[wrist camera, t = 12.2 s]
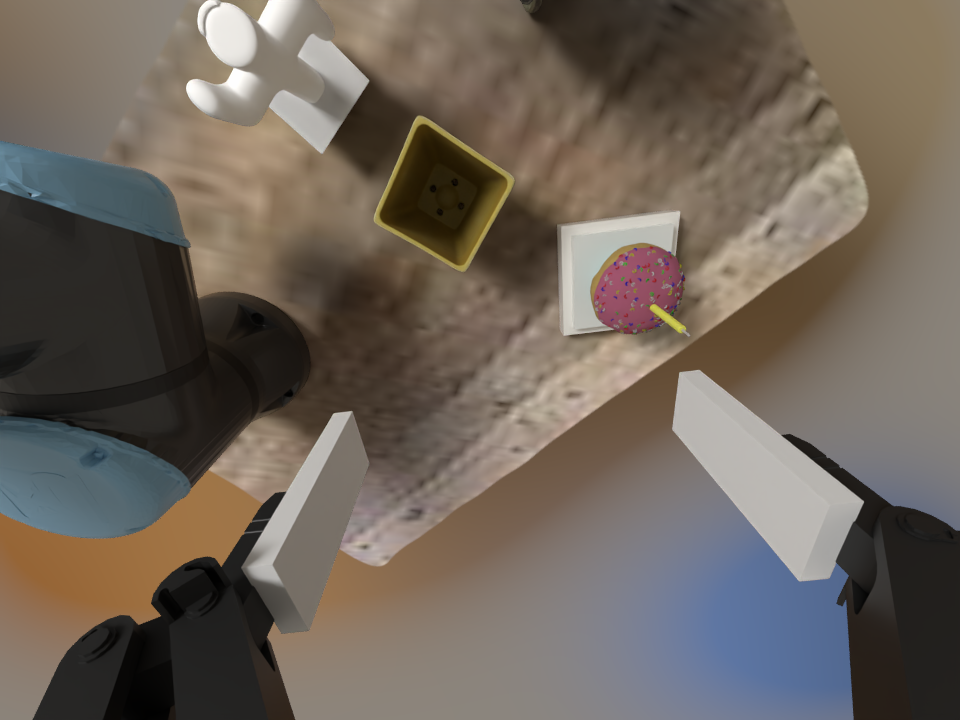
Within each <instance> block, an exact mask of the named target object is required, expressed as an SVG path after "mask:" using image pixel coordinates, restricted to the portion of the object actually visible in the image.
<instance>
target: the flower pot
mask: <svg viewBox="0 0 960 720" xmlns="http://www.w3.org/2000/svg"><path fill="white" fill-rule="evenodd" d="M454 179H456V180H457V181H458V183H457V185H453V184H452V180H454ZM514 184H515V179H514V177H513V176H512V175H511V174H509V173H508V172H506V171H505V170H503V169H502V168H500V167H499V166H497V165H495V164H494V163H492V162H491V161H489V160H488V159H486V158H485V157H483V156H482V155H480V154H479V153H477V152H476V151H474V150H473V149H472V148H470V147H469V146H467V145H465V144H464V143H463V142H461V141H460V140H458V139H457V138H455V137H454V136H452V135H451V134H449V133H448V132H446V131H445V130H444V129H442V128H441V127H440V126H438V125H437V124H435V123H434V122H432V121H431V120H429V119H427V118H426V117H424V116H417V118H416V119H415V121H414V123H413V125H412V127H411V130H410V132H409V134H408V137H407V139H406V142H405V144H404V147H403V149H402V151H401V154H400V156H399V159H398V161H397V163H396V166H395V168H394V171H393V173H392V175H391V177H390V180H389V182H388V184H387V187H386V189H385V191H384V193H383V196H382V198H381V200H380V202H379V205H378V207H377V209H376V212H375V215H374V222H375V223H376V224H377V225H379V226H380V227H382V228H384V229H386V230H387V231H389V232H391V233H393V234H395V235H397V236H399V237H401V238H402V239H404V240H406V241H408V242H410V243H412V244H413V245H415V246H417V247H419V248H420V249H422V250H424V251H426V252H427V253H429V254H431V255H432V256H434V257H436V258H437V259H439V260H441V261H442V262H444V263H446V264H447V265H449V266H451V267H452V268H454V269H456V270H458V271H460V272H465V271H466V270H467V269H468V267H469V265H470V264H471V262H472V260H473V258H474V256H475V254H476V252H477V251H478V249H479V247H480V245H481V243H482V241H483V240H484V238H485V236H486V234H487V232H488V231H489V229H490V227H491V225H492V224H493V222H494V220H495V218H496V216H497V215H498V213H499V211H500V209H501V208H502V206H503V204H504V202H505V200H506V199H507V197H508V195H509V194H510V192H511V190H512V188H513V186H514ZM431 186H435V187H436V191H434V192H432V191H431V189H430V188H431ZM459 203H463V205H464V207H463V208H462V209H460V208H459V207H458V205H459ZM438 209H441V210H442V211H443V213H442V214H441V215H439V214H438V213H437V211H438Z"/></svg>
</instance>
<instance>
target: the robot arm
mask: <svg viewBox="0 0 960 720" xmlns="http://www.w3.org/2000/svg"><path fill="white" fill-rule="evenodd" d="M190 247H191V246H190V242H189V241H188V240H187V239H186V238H185V235H184V232H183V228H182V224H181V220H180V216H179V212H178V208H177V204H176V201H175V198H174V196H173V194H172V192H171V191H170V189H169V188H168V187H167V186H166V185H165V184H164V183H163V182H162V181H161V180H159V179H158V178H157V177H155V176H154V175H152V174H150V173H148V172H145V171H143V170H139V169H135V168H131V167H126V166H121V165H116V164H111V163H106V162H102V161H97V160H92V159H87V158H82V157H77V156H72V155H68V154H63V153H58V152H52V151H48V150H43V149H37V148H33V147H28V146H23V145H19V144H14V143H9V142H4V141H0V513H2V514H4V515H6V516H8V517H10V518H12V519H14V520H17V521H19V522H22V523H25V524H27V525H30V526H32V527H35V528H38V529H41V530H45V531H48V532H52V533H57V534H61V535H67V536H72V537H80V538H115V537H121V536H125V535H129V534H133V533H136V532H138V531H141V530H143V529H145V528H146V527H148V526H150V525H152V524H153V523H154V522H156V521H157V520H158V519H159V518H160V517H161V516H162V515H164V514H165V513H166V512H167V511H168V510H169V509H170V508H171V507H172V506H173V505H174V504H175V503H176V502H177V501H179V500H180V499H182V498H184V497H186V496H187V494H188V493H189V492H190V489H191V488H192V487H193V486H194V485H195V483H196V482H197V481H198V480H199V479H200V478H201V477H202V476H203V475H204V473H205V472H206V471H207V470H208V469H209V468H210V467H211V466H212V465H213V463H214V462H215V461H216V460H217V459H218V458H219V457H220V456H221V455H222V453H223V452H224V451H225V450H226V449H227V448H228V447H229V446H230V445H231V443H232V442H233V441H234V440H235V439H236V438H237V437H238V436H239V435H240V433H241V432H242V431H243V430H244V429H245V428H246V427H247V426H248V425H249V424H250V423H251V422H253V421H255V420H257V419H259V418H261V417H263V416H266V415H268V414H270V413H272V412H274V411H276V410H279V409H280V408H282V407H284V406H285V405H287V404H288V403H289V402H290V401H291V400H292V399H293V398H294V397H295V396H296V395H297V394H298V392H299V391H300V390H301V389H302V388H303V386H304V385H305V383H306V381H307V378H308V375H309V371H310V356H309V351H308V348H307V345H306V342H305V340H304V338H303V336H302V334H301V333H300V331H299V330H298V328H297V327H296V325H295V324H294V323H293V322H292V321H291V320H290V319H289V318H288V317H287V316H286V315H285V314H284V313H283V312H281V311H280V310H279V309H277V308H276V307H275V306H273V305H271V304H270V303H268V302H266V301H264V300H262V299H260V298H257V297H254V296H251V295H248V294H244V293H238V292H218V293H213V294H209V295H206V296H203V297H201V298H199V299H198V297H197V292H196V286H195V281H194V276H193V271H192V265H191V260H190V255H189V249H188V248H190ZM672 430H673V431H674V432H675V433H676V434H677V435H678V437H679V438H680V439H681V440H682V441H683V443H684V444H685V445H686V446H687V448H688V449H689V450H690V451H691V452H692V454H693V455H694V456H695V457H696V458H697V460H698V461H699V462H700V463H701V464H702V465H703V467H704V468H705V469H706V470H707V471H708V473H709V474H710V475H711V476H712V477H713V478H714V480H715V481H716V482H717V483H718V485H719V486H720V487H721V488H722V489H723V491H724V492H725V493H726V494H727V495H728V497H729V498H730V499H731V500H732V501H733V503H734V504H735V505H736V506H737V507H738V508H739V510H740V511H741V512H742V513H743V514H744V516H745V517H746V518H747V519H748V521H749V522H750V523H751V524H752V525H753V527H754V528H755V529H756V530H757V531H758V532H759V534H760V535H761V536H762V537H763V539H764V540H765V541H766V542H767V543H768V544H769V546H770V547H771V548H772V549H773V550H774V552H775V553H776V554H777V555H778V556H779V557H780V559H781V560H782V561H783V562H784V564H785V565H786V566H787V567H788V568H789V569H790V571H791V572H792V573H793V574H794V576H795V577H796V578H797V579H798V580H799V581H809V580H819V579H828V578H830V575H831V573H832V571H833V569H834V567H835V564H836V563H837V564H838V565H839V566H840V567H841V568H842V569H843V570H844V571H845V572H846V573H847V574H848V575H849V577H848V579H847V581H846V583H845V585H844V587H843V589H842V591H841V593H840V595H839V597H838V600H837V604H838V605H841V606H843V604H844V602H845V600H846V602H847V619H848V634H849V651H850V667H851V684H852V698H853V699H852V700H853V716H854V720H960V531H956V530H954V529H953V528H952V527H951V526H949V525H948V524H947V523H945V522H943V521H941V520H939V519H937V518H936V517H934V516H932V515H929V514H926V513H924V512H921V511H918V510H916V509H911V508H906V507H901V506H892V505H891V504H890V503H888V502H887V501H886V500H884V499H883V498H882V497H880V496H879V495H878V494H876V493H875V492H874V491H872V490H871V489H870V488H868V487H867V486H866V485H864V484H863V483H862V482H860V481H859V480H858V479H857V478H855V477H854V476H852V475H851V474H850V473H849V472H847V471H846V470H845V469H843V468H840V467H839V465H838V464H837V463H835V462H834V461H833V460H831V459H830V458H827V457H826V455H825V454H823V453H822V452H821V451H819V450H818V449H817V448H815V447H814V446H813V445H811V444H810V443H808V442H806V441H804V440H801V439H799V438H797V437H795V436H793V435H791V434H786V435H780V434H779V433H777V432H776V431H775V430H774V429H772V428H771V427H770V426H769V425H767V424H766V423H765V422H764V421H762V420H761V419H760V418H759V417H757V416H756V415H755V414H753V413H752V412H751V411H750V410H749V409H747V408H746V407H745V406H744V405H742V404H741V403H740V402H739V401H737V400H736V399H735V398H734V397H732V396H731V395H730V394H728V393H727V392H726V391H725V390H724V389H722V388H721V387H719V386H718V385H717V384H716V383H715V382H714V381H712V380H711V379H710V378H708V377H707V376H706V375H705V374H704V373H702V372H701V371H700V370H696V371H687V372H680V373H679V381H678V389H677V397H676V404H675V413H674V420H673V428H672ZM368 467H369V461H368V458H367V455H366V451H365V448H364V445H363V442H362V439H361V436H360V433H359V430H358V427H357V424H356V421H355V418H354V414H353V411H348V412H340V413H334V414H333V415H332V417H331V419H330V420H329V422H328V424H327V425H326V427H325V429H324V430H323V432H322V434H321V435H320V437H319V439H318V440H317V442H316V444H315V445H314V447H313V449H312V450H311V452H310V454H309V455H308V457H307V459H306V460H305V462H304V464H303V465H302V467H301V469H300V471H299V472H298V474H297V476H296V477H295V479H294V481H293V482H292V484H291V486H290V487H289V489H288V491H287V492H279V493H275V494H274V495H273V496H272V497H270V498H269V499H268V500H267V501H266V502H265V503H264V504H263V505H262V506H261V507H260V509H259V510H258V512H257V513H256V515H255V517H254V518H253V520H252V523H250V524H249V526H248V527H247V529H246V530H245V534H244V535H242V536H241V538H240V539H239V541H238V543H237V544H236V546H235V547H234V549H233V550H232V552H231V553H230V555H229V556H228V558H227V559H226V561H225V562H224V564H223V565H222V567H221V566H220V565H219V563H218V562H217V560H216V559H215V558H212V557H202V558H197V559H194V560H192V561H190V562H188V563H185V564H183V565H182V566H181V567H179V568H178V569H176V570H175V571H173V572H172V573H171V574H170V575H169V576H168V577H167V578H166V579H165V580H163V582H161V584H160V585H159V587H158V588H157V590H156V591H155V593H154V594H153V598H152V602H151V604H152V605H153V606H154V608H155V609H156V610H157V611H158V612H159V613H160V615H161V617H158V618H156V619H153V620H150V621H148V622H145V623H143V624H140V625H138V624H137V623H136V622H135V621H134V620H133V619H132V618H131V617H130V616H126V615H120V616H117V617H114V618H110V619H108V620H106V621H104V622H102V623H101V624H99V625H97V626H95V627H94V628H92V629H91V630H90V631H88V632H87V633H86V634H85V635H83V636H82V637H81V638H80V639H79V640H78V641H77V642H76V643H75V644H74V645H73V646H72V647H71V648H70V649H69V650H68V651H67V653H66V654H65V656H64V657H63V659H62V660H61V662H60V663H59V665H58V667H57V669H56V672H55V674H54V676H53V678H52V680H51V682H50V684H49V686H48V688H47V691H46V693H45V695H44V697H43V699H42V701H41V703H40V705H39V707H38V710H37V712H36V714H35V716H34V718H33V720H295V717H294V714H293V711H292V708H291V705H290V702H289V699H288V696H287V693H286V689H285V686H284V683H283V680H282V677H281V674H280V671H279V667H278V665H277V661H276V658H275V655H274V652H273V649H272V645H271V643H270V641H269V640H268V638H267V636H268V633H269V631H270V629H271V627H272V625H273V622H275V624H276V625H277V627H278V629H279V630H280V632H281V633H282V634H283V633H294V632H304V631H309V630H310V627H311V624H312V621H313V619H314V616H315V613H316V611H317V607H318V605H319V602H320V599H321V597H322V594H323V591H324V588H325V586H326V583H327V580H328V577H329V575H330V572H331V569H332V566H333V563H334V561H335V558H336V555H337V552H338V550H339V547H340V544H341V541H342V539H343V536H344V533H345V530H346V527H347V525H348V522H349V519H350V516H351V514H352V511H353V508H354V505H355V503H356V500H357V497H358V494H359V491H360V489H361V486H362V483H363V480H364V478H365V475H366V472H367V469H368Z"/></svg>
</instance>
